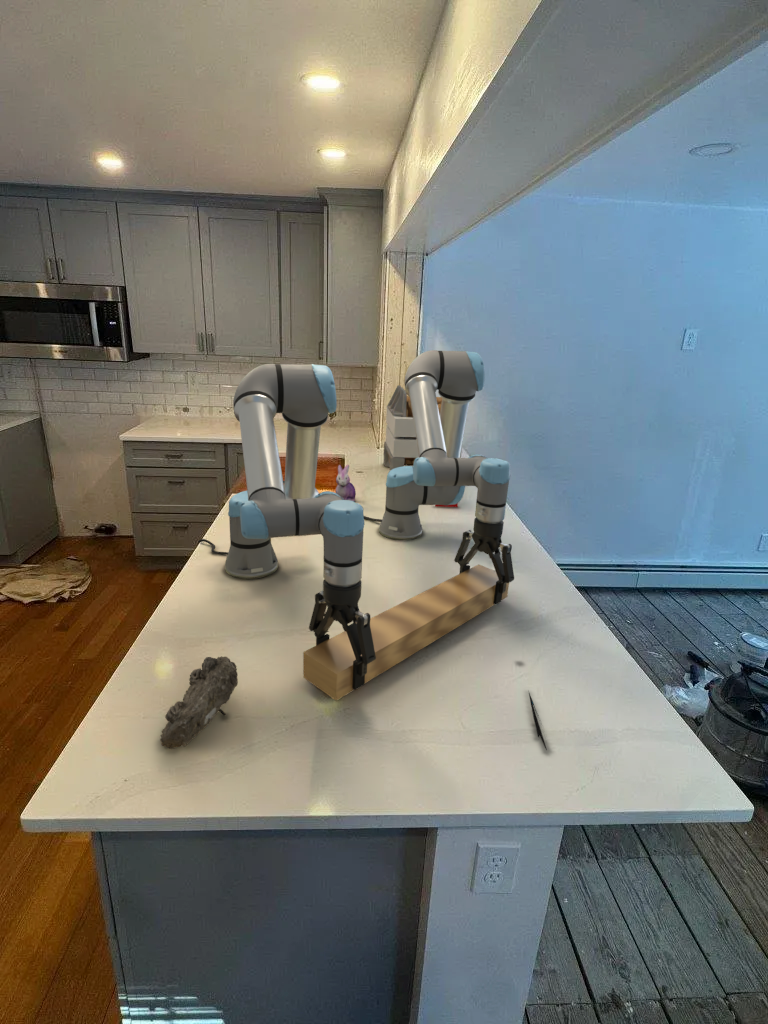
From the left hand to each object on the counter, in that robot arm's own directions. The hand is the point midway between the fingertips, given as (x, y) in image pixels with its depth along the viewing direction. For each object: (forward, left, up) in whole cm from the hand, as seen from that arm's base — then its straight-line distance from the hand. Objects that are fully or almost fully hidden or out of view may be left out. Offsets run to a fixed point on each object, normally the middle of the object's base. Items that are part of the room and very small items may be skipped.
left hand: (340, 674), depth 119 cm
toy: (-76, +110, -2) cm, 134 cm away
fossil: (-8, -26, -2) cm, 27 cm away
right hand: (-5, +51, 0) cm, 51 cm away
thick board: (-3, +25, -1) cm, 26 cm away
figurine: (-94, +72, -2) cm, 119 cm away
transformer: (-108, +128, -2) cm, 167 cm away
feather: (+29, +27, -2) cm, 40 cm away
